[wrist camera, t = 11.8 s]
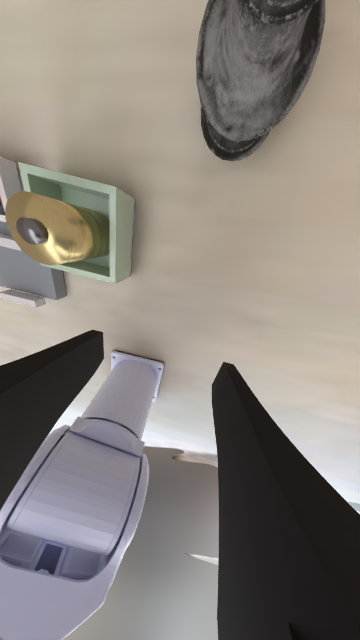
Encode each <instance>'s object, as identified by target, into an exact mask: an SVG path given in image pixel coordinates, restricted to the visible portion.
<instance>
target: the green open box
mask: <svg viewBox="0 0 360 640" xmlns="http://www.w3.org/2000/svg"><path fill="white" fill-rule="evenodd" d="M18 164H19V169H20V173H21V178H22V183H23V187H24V191H27V192H31V193H35V194H38V195H42V196H46V197H49V198H53V199H56V200H60V201H63V202H67V203H71V204H74V205H78V206H81V207H85V208H88V209H92V210H95V211H98V212H100V213H101V214H103V215H104V216H105V217H106V218H107V219H108V220H109V222H110V254H108V255H106V256H103V257H97V258H92V259H86V260H80V261H74V262H69V263H63V264H57V265H45V264H42V263H40V264H41V265H42V266H46V267H50V268H54V269H58V270H62V271H66V272H70V273H74V274H78V275H82V276H86V277H90V278H94V279H98V280H102V281H106V282H110V283H114V284H116V283H118V282H120V281H122V280H123V279H125V278H127V277H129V276H130V273H131V256H132V239H133V222H134V205H135V199H134V198H133V197H131V196H130V195H128V194H126V193H125V192H123V191H122V190H120V189H119V188H117V187H115V186H111V185H107V184H103V183H99V182H95V181H91V180H87V179H83V178H79V177H76V176H72V175H68V174H64V173H60V172H56V171H52V170H48V169H44V168H40V167H36V166H32V165H29V164H25V163H21V162H18Z"/></svg>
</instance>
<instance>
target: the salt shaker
mask: <svg viewBox="0 0 360 640" xmlns="http://www.w3.org/2000/svg"><path fill="white" fill-rule="evenodd" d="M324 23H325V0H209V1H208V3H207V6H206V10H205V14H204V17H203V21H202V24H201V28H200V32H199V39H198V48H197V56H196V71H197V87H198V92H199V97H200V101H201V105H202V106H201V126H202V130H203V135H204V138H205V140H206V143H207V145H208V147H209V148H210V150H211V151H212V152H213V153H214V154H215V155H216V156H218V157H219V158H221V159H223V160H228V161H235V160H241V159H243V158H245V157H247V156H249V155H250V154H252V153H253V152H254V151H255V150H256V149H257V148H258V147H259V146H260V145H261V144H262V142H263V141H264V140H265V138H266V137H267V135H268V134H269V132H270V130H272V129H273V128H274V127H275V126H276V125H277V124H278V123H279V122H280V121H281V120H283V119H284V118H285V116H286V115H287V114H288V112H289V111H290V110H291V108H292V107H293V106H294V104H295V103H296V102H297V100H298V99H299V97H300V95H301V93H302V91H303V89H304V87H305V86H306V84H307V82H308V80H309V78H310V76H311V73H312V70H313V67H314V64H315V61H316V59H317V56H318V53H319V50H320V44H321V39H322V34H323V28H324Z"/></svg>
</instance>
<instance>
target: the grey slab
mask: <svg viewBox="0 0 360 640" xmlns="http://www.w3.org/2000/svg"><path fill="white" fill-rule="evenodd" d="M19 191H24V187H23V183H22V178H21V175H20V174H18V172H17V168H16V163H15V162H13V161H10V160H8V159H6V158H3V157H1V156H0V197H1V200H2V203H1V205H0V286H2V287H7V288H11V290H7V291H3V292H0V296H1V298H2V299H3V300H7V301H11V302H15V303H19V304H23V305H27V306H32V307H36V308H37V307H39V306H42V305H44V304H46V302H45V298H44V297H47V298H51V299H55V300H58V299H60V298H63V297H65V296H67V295H66V289H65V282H64V276H63V271H62V270H58V269H54V268H50V267H46V266H42V265H41V264H40V263H39V262H37V261H35V260H34V259H32V258H31V257H29V256H28V255H27V254H26V253H24V251H23V250H22V249H21V248H20V247H19V246H18V245H17V243H16V242H15V240H14V239H13V237H12V235H11V233H10V231H9V229H8V226H7V223H6V218H5V207H6V203H7V200H8V199H9V197H10V196H11V195H12V194H14V193H16V192H19ZM12 289H15V290H12ZM16 290H19V291H16ZM20 291H23V292H20ZM24 292H27V293H24ZM28 293H31V294H28ZM32 294H35V295H32ZM36 295H39V296H36ZM40 296H43V297H40Z"/></svg>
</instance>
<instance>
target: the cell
mask: <svg viewBox="0 0 360 640" xmlns="http://www.w3.org/2000/svg"><path fill="white" fill-rule="evenodd" d="M5 218H6V223H7V226H8V229H9V231H10V233H11V235H12V237H13V239H14V240H15V242H16V243H17V245H18V246H19V247H20V248H21V249H22V250H23V251H24V253H26V254H27V255H28V256H29V257H31V258H32V259H34V260H35V261H37V262H39V263H42V264H45V265H57V264H63V263H69V262H74V261H80V260H86V259H92V258H97V257H103V256H106V255H108V254H110V222H109V220H108V219H107V218H106V217H105V216H104V215H103V214H101V213H100V212H98V211H95V210H92V209H88V208H85V207H81V206H78V205H74V204H71V203H67V202H63V201H60V200H56V199H53V198H49V197H46V196H42V195H38V194H35V193H31V192H27V191H19V192H16V193H14V194H12V195H11V196H10V197H9V199H8V200H7V203H6V207H5Z"/></svg>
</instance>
